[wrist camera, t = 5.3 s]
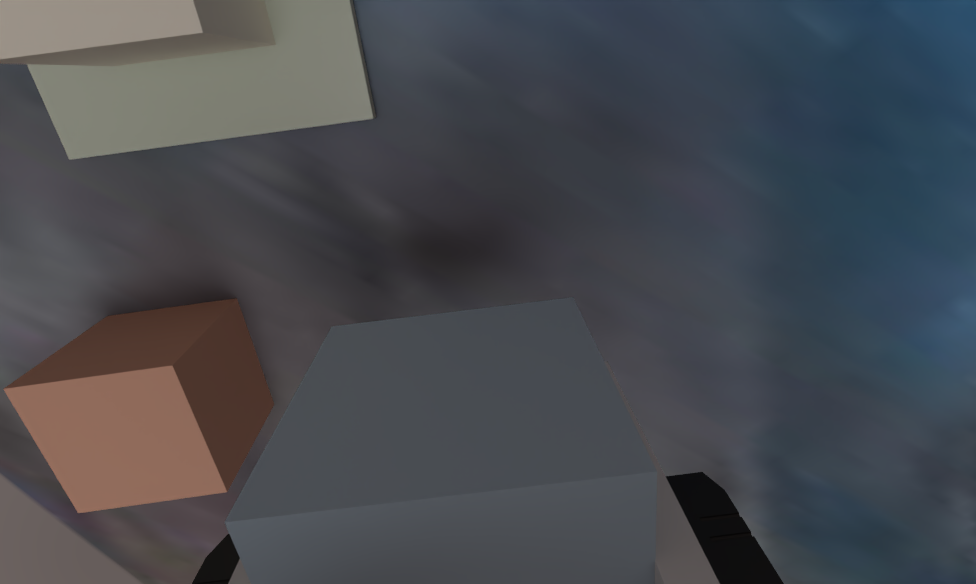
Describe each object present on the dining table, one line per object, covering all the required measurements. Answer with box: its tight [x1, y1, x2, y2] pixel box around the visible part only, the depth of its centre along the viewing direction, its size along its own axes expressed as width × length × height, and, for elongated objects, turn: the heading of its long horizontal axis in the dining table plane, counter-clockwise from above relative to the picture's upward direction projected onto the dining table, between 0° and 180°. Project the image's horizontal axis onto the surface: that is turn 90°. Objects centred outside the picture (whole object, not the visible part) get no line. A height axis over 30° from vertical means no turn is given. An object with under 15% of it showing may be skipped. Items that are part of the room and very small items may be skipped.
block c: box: [4, 298, 274, 513], centre depth 22 cm, size 6×6×6 cm
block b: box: [224, 297, 657, 584], centre depth 11 cm, size 6×6×6 cm
